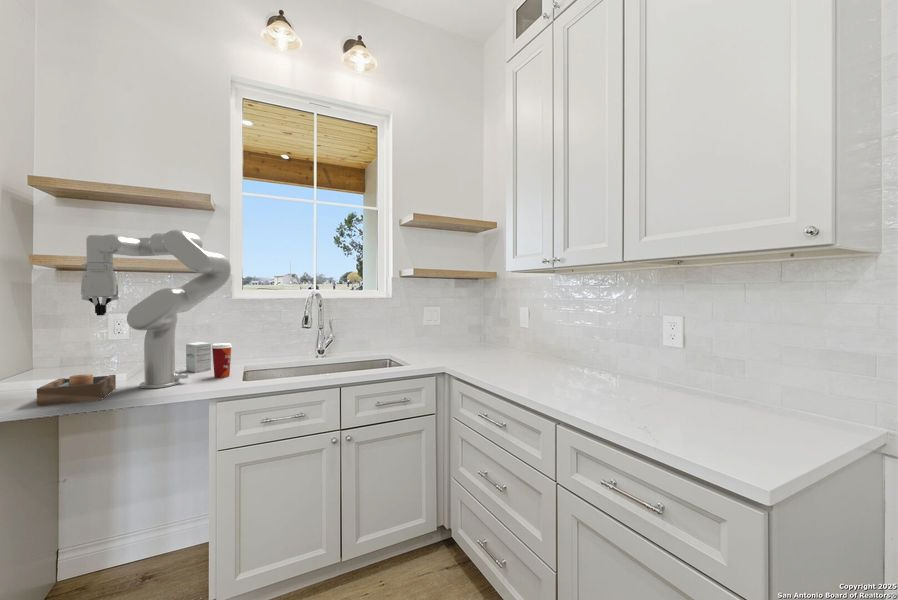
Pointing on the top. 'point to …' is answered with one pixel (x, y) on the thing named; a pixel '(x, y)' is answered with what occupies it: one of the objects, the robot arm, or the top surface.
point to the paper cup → (221, 359)
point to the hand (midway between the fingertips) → (100, 315)
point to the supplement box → (198, 357)
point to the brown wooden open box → (74, 392)
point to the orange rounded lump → (81, 379)
